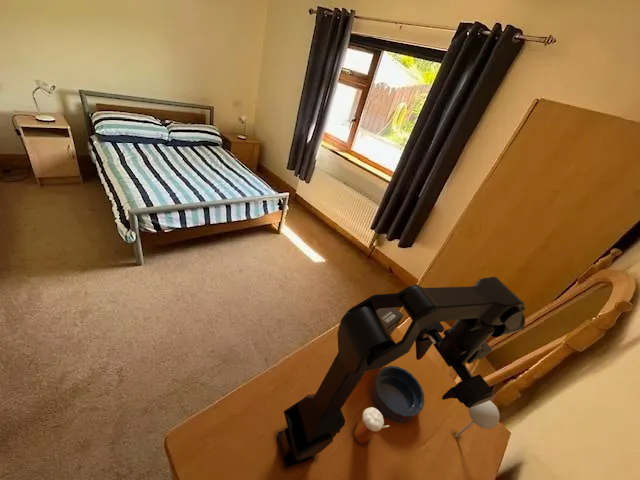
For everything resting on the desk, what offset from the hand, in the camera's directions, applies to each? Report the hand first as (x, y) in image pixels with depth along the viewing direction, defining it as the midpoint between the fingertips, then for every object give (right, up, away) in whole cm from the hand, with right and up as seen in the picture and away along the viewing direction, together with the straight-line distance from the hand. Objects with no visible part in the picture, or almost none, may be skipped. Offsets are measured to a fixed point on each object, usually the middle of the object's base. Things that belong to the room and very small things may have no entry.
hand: (430, 377), depth 67 cm
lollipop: (+8, -17, +6) cm, 20 cm away
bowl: (-6, -10, +10) cm, 15 cm away
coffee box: (-12, -1, +19) cm, 23 cm away
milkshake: (-15, -14, +1) cm, 20 cm away
